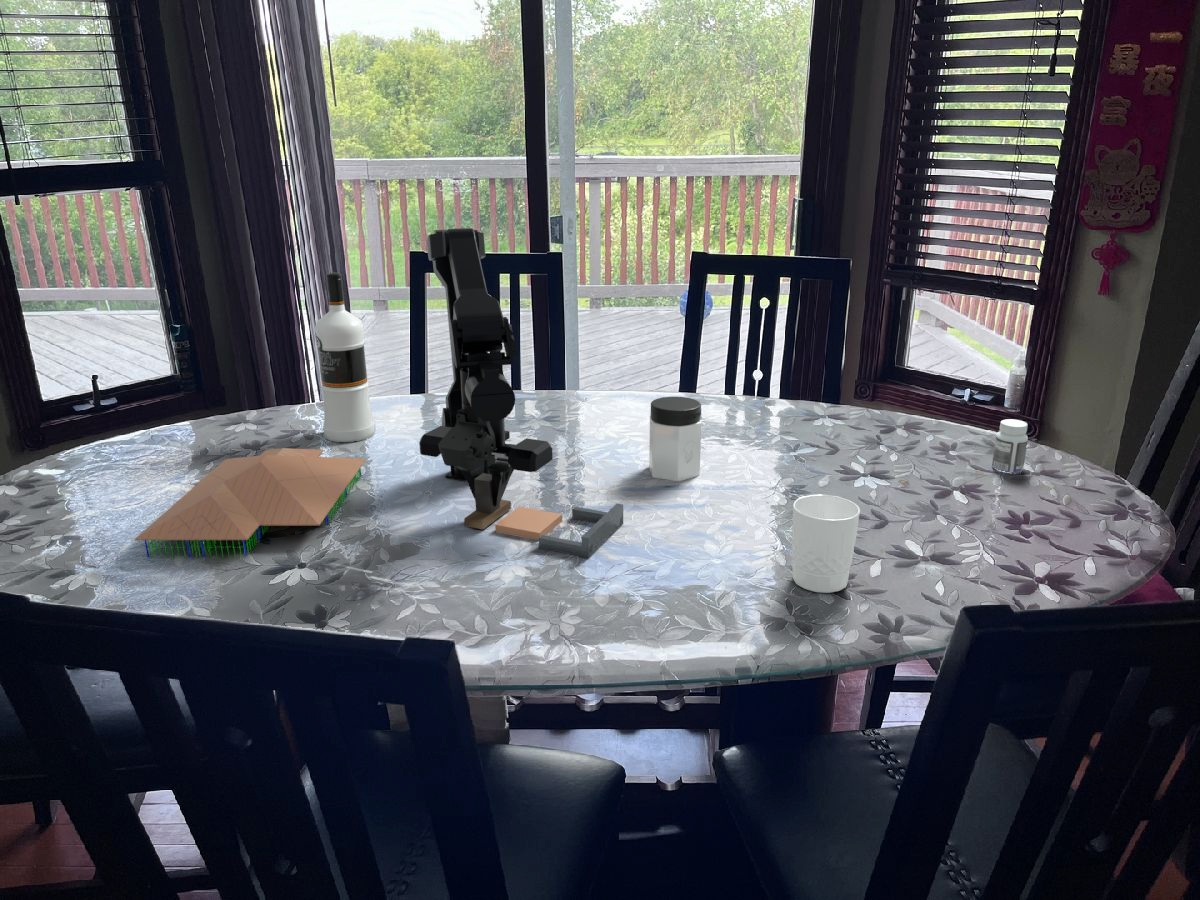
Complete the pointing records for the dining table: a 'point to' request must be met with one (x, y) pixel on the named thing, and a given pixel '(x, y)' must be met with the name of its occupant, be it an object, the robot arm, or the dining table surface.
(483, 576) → the dining table surface
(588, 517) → the grey u-shaped frame
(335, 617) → the dining table surface
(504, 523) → the tile
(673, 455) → the jar
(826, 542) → the white cup
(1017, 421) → the pill bottle
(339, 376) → the vodka
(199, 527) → the house
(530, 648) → the dining table surface
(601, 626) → the dining table surface
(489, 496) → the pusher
